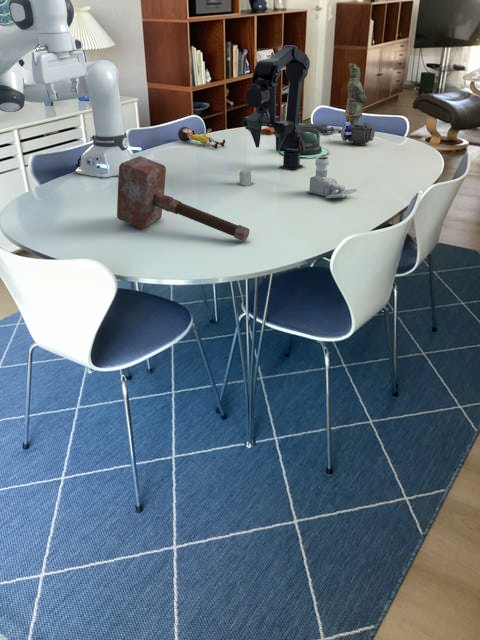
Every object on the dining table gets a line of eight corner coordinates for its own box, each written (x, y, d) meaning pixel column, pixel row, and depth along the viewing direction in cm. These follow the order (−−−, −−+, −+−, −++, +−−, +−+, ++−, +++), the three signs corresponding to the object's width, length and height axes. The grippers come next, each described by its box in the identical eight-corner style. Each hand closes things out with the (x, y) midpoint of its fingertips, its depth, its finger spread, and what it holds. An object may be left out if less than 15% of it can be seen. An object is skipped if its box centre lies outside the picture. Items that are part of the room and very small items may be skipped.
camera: (321, 153, 186) (360, 161, 177) (319, 188, 192) (356, 197, 183) (306, 158, 180) (345, 167, 171) (304, 194, 186) (342, 204, 177)
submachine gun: (254, 130, 262) (277, 120, 281) (254, 136, 263) (277, 126, 282) (316, 136, 248) (336, 125, 267) (316, 142, 250) (336, 131, 268)
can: (238, 185, 197) (238, 172, 195) (240, 181, 200) (240, 169, 198) (250, 185, 196) (250, 172, 194) (252, 182, 200) (251, 169, 197)
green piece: (332, 145, 241) (326, 158, 224) (294, 164, 249) (286, 177, 233) (317, 113, 235) (310, 124, 219) (279, 133, 244) (269, 145, 228)
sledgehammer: (260, 200, 149) (138, 154, 161) (243, 211, 142) (117, 162, 153) (248, 256, 159) (134, 209, 171) (232, 269, 152) (114, 219, 163)
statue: (367, 132, 266) (374, 63, 251) (349, 133, 264) (355, 64, 249) (357, 127, 275) (362, 61, 260) (339, 129, 273) (344, 62, 258)
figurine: (211, 139, 238) (170, 125, 250) (210, 157, 242) (170, 142, 255) (230, 134, 247) (190, 120, 259) (229, 150, 251) (189, 136, 263)
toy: (345, 120, 249) (377, 123, 242) (343, 139, 253) (375, 143, 246) (337, 123, 243) (369, 127, 236) (336, 143, 247) (367, 147, 240)
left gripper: (40, 47, 147) (50, 103, 154) (86, 41, 163) (93, 92, 170) (21, 47, 149) (32, 102, 156) (68, 41, 165) (76, 91, 172)
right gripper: (230, 102, 186) (232, 150, 194) (273, 109, 175) (273, 158, 183) (252, 98, 193) (253, 143, 201) (295, 103, 182) (294, 151, 190)
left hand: (64, 96), depth 163 cm, fingers open, 8 cm apart
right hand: (267, 149), depth 193 cm, fingers open, 9 cm apart
